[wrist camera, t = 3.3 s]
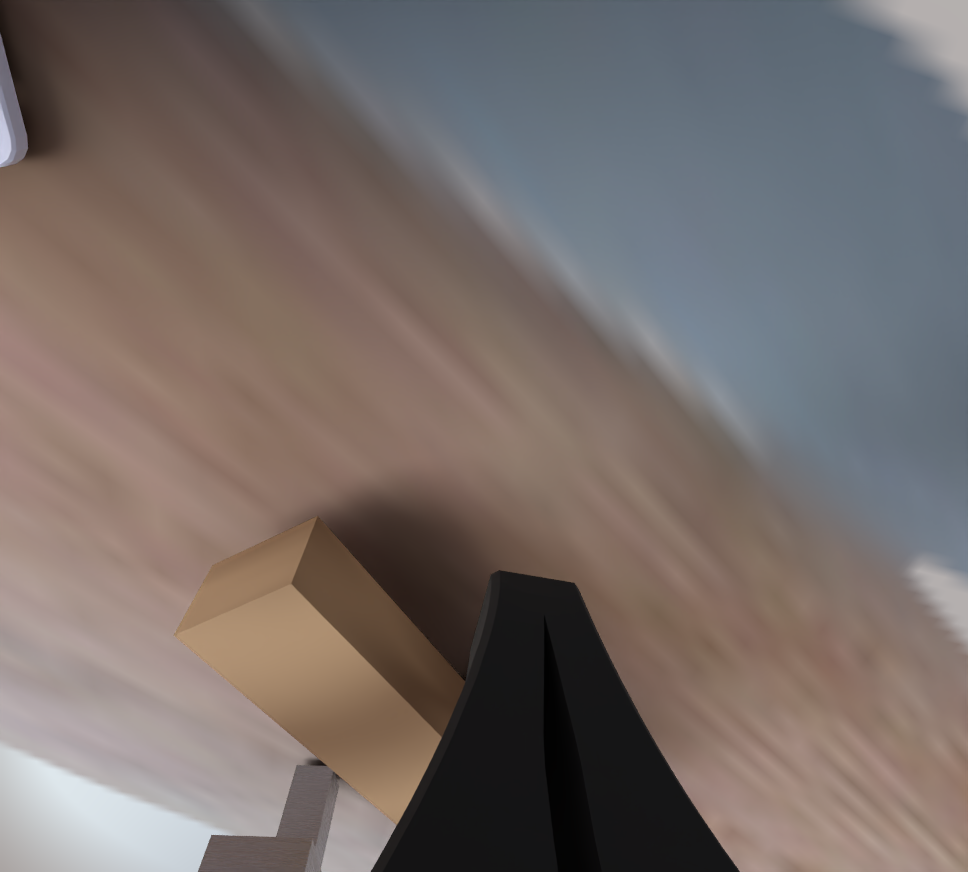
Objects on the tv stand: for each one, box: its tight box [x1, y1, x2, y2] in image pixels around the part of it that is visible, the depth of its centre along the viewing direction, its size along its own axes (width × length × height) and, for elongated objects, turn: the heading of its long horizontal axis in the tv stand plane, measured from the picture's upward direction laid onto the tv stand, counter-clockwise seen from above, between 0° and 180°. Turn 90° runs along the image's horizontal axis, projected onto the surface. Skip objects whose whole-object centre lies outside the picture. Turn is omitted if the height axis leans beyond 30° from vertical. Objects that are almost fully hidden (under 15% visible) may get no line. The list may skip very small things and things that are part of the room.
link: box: [174, 516, 465, 825], centre depth 15 cm, size 11×4×4 cm, turn 29°
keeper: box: [198, 765, 339, 872], centre depth 18 cm, size 2×4×5 cm, turn 0°
